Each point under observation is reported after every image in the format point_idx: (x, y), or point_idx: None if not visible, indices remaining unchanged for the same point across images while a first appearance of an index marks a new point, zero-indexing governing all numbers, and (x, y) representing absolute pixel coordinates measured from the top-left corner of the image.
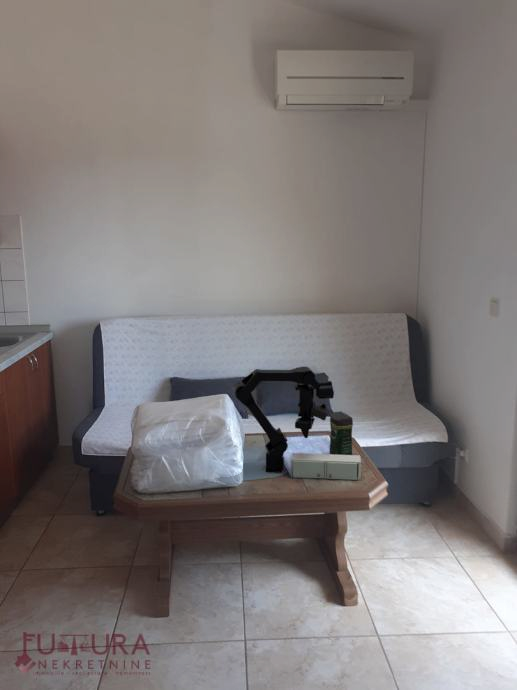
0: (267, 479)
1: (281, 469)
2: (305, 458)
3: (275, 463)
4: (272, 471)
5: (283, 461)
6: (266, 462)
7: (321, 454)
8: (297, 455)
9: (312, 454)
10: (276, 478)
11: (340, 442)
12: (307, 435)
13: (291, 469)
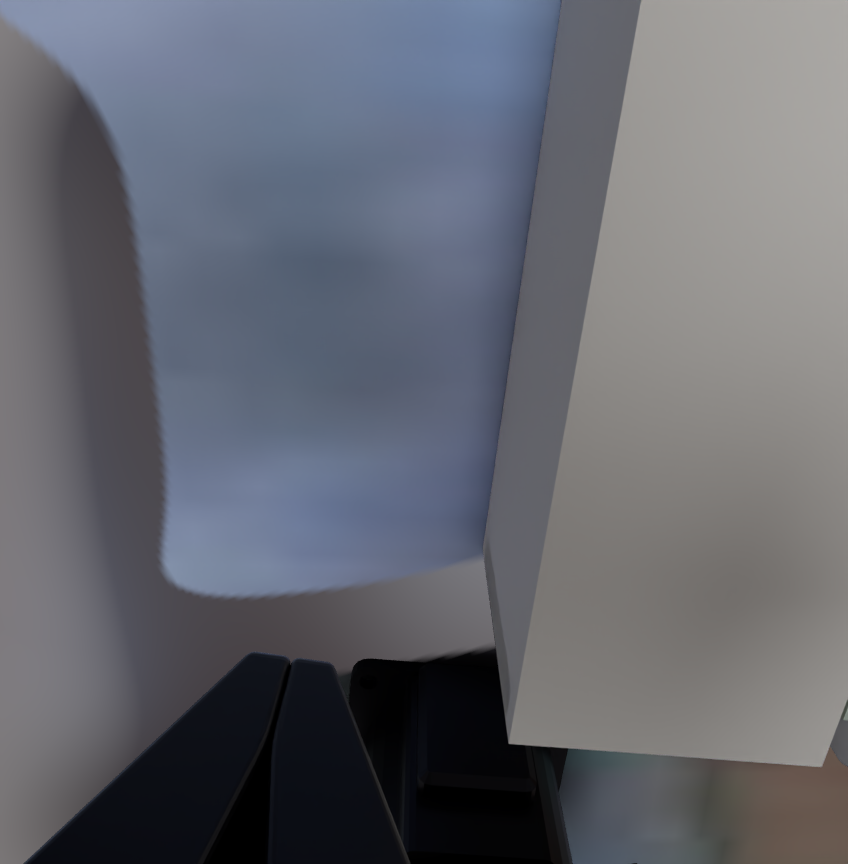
0: (736, 808)
1: None
2: (835, 510)
3: (567, 838)
4: (558, 776)
5: (528, 754)
6: None
7: (658, 87)
8: (647, 656)
9: (633, 341)
10: None
11: None
12: (363, 755)
13: None
